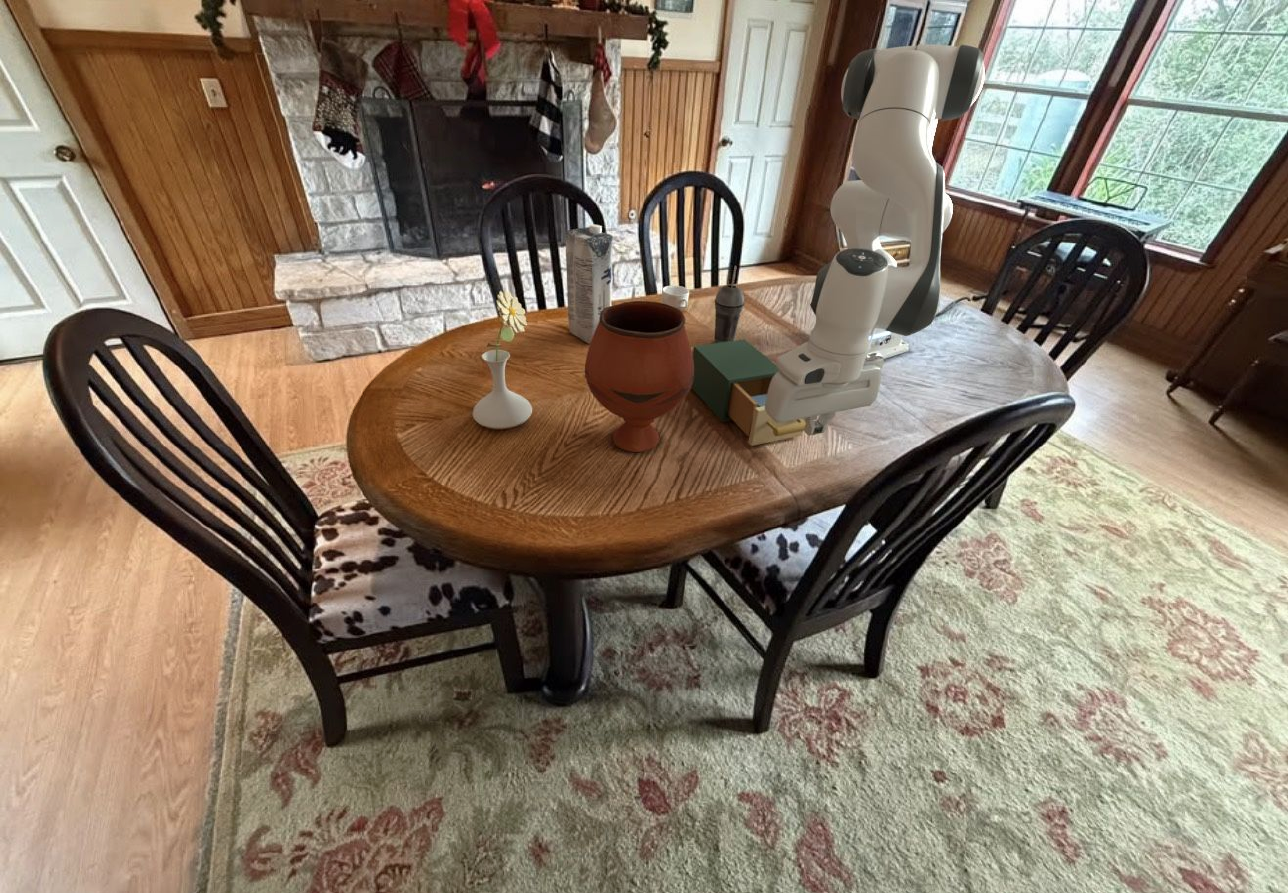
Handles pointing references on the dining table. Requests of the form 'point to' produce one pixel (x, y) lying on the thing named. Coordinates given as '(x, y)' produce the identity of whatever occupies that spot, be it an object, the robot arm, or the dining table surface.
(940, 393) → the dining table surface
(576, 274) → the juice carton
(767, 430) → the drawer
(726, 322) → the beverage cup
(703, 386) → the cabinet
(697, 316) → the dining table surface
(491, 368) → the flower in vase
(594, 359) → the goblet
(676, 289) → the teacup
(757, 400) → the block
